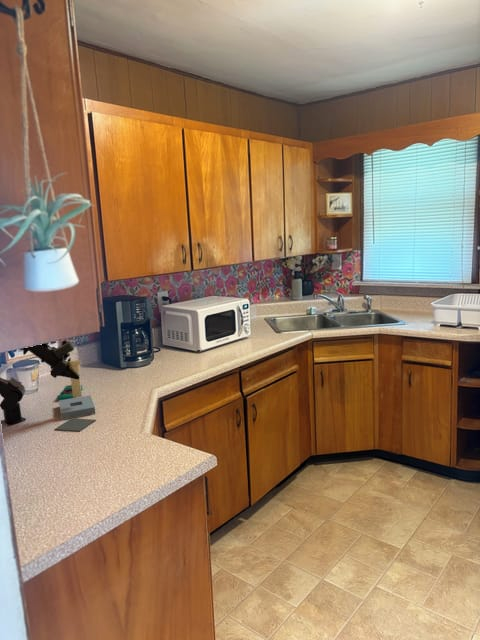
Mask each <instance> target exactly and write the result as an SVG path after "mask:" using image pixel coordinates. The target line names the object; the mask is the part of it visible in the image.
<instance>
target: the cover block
mask: <svg viewBox="0 0 480 640" xmlns="http://www.w3.org/2000/svg"><path fill="white" fill-rule="evenodd" d="M58 405H59V411H60V412H59V413H60V419H61V421H62V420H63V421H64V420H67V419H71V418H78V417H83V416H90V415H94V414H96V408H95V404H94V402H93V400H92V396H91V395H90V394H89V395H84V396H81V397H77V398H71V399H65V400H59V401H58Z"/></svg>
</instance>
